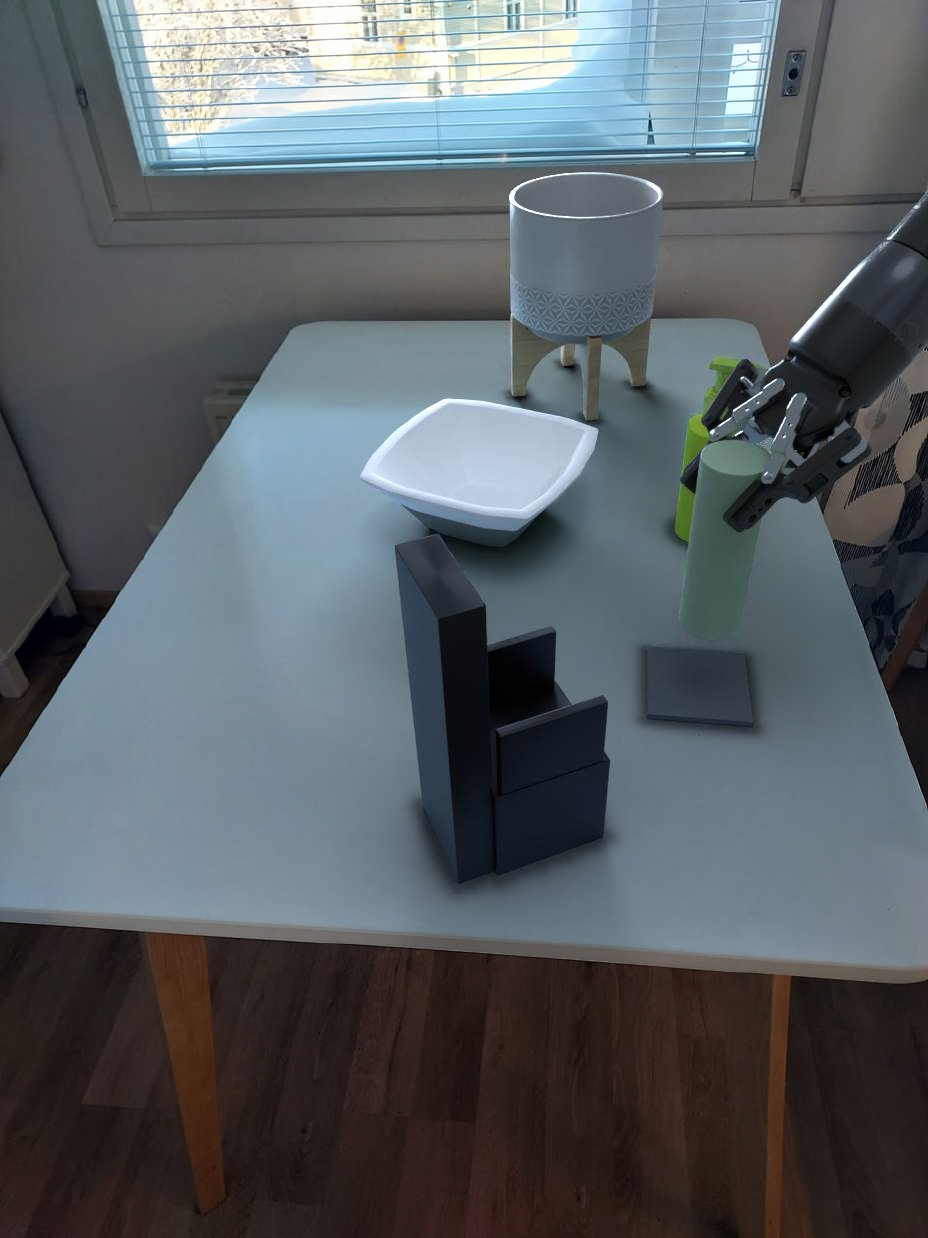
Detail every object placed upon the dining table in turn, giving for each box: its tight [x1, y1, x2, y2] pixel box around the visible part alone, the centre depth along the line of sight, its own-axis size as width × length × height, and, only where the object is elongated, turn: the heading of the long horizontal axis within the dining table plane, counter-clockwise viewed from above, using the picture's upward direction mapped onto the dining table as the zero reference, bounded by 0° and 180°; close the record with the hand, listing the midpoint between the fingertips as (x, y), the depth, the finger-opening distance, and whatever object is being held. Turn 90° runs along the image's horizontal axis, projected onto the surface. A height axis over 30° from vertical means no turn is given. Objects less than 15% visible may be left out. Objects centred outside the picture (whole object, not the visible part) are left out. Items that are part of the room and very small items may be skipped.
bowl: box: [359, 398, 600, 548], centre depth 105 cm, size 22×23×8 cm
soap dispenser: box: [674, 356, 769, 543], centre depth 97 cm, size 6×7×20 cm
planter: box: [509, 172, 665, 421], centre depth 123 cm, size 19×19×26 cm
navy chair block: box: [394, 533, 611, 884], centre depth 66 cm, size 12×9×26 cm
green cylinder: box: [678, 440, 771, 641], centre depth 74 cm, size 5×5×16 cm
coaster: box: [646, 646, 754, 727], centre depth 84 cm, size 9×9×1 cm
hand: (708, 505), depth 71 cm, fingers closed on green cylinder, 5 cm apart
